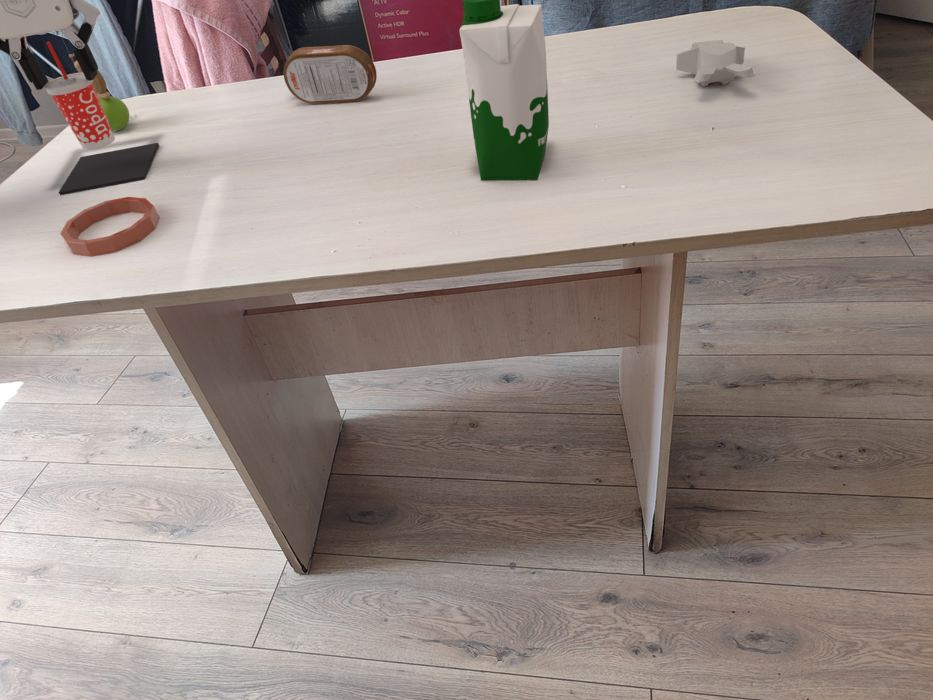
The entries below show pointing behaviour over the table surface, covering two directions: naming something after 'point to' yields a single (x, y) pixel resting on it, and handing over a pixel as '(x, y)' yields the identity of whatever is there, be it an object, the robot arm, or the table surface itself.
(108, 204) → the reddish brown ring
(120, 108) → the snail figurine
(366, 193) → the table surface
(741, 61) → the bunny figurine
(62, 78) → the beverage cup
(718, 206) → the table surface
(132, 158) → the mat
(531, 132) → the milk carton
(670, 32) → the table surface
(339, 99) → the tin
